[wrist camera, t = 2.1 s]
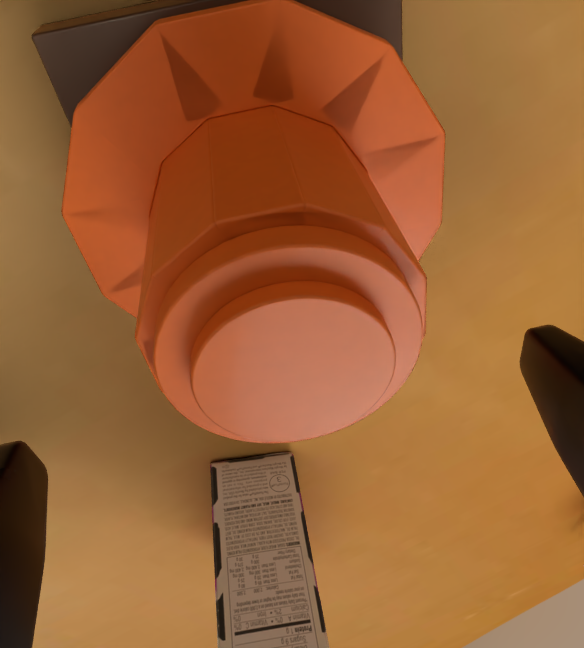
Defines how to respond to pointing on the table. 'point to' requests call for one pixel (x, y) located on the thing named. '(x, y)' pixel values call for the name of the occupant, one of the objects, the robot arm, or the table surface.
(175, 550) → the table surface
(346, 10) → the hat stand
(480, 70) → the table surface
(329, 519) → the table surface
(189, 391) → the hat
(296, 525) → the candy bar box
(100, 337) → the table surface
